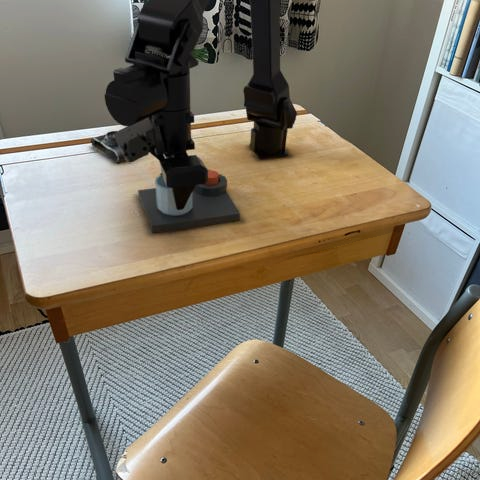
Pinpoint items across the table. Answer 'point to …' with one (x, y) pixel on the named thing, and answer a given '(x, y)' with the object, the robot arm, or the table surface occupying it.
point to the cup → (169, 199)
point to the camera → (108, 146)
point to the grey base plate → (202, 213)
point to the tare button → (212, 177)
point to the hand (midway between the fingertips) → (175, 199)
